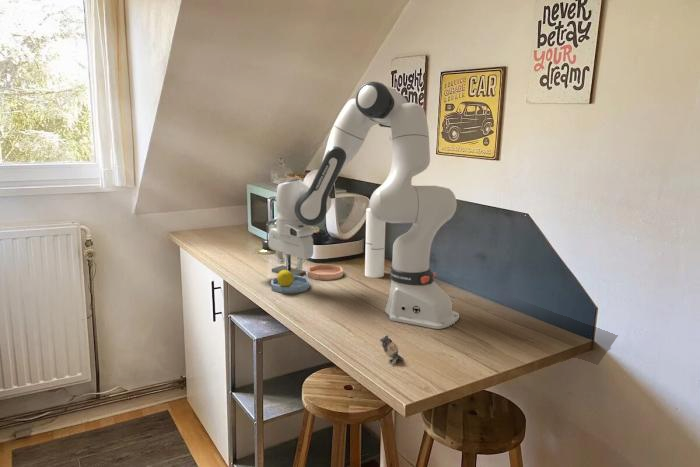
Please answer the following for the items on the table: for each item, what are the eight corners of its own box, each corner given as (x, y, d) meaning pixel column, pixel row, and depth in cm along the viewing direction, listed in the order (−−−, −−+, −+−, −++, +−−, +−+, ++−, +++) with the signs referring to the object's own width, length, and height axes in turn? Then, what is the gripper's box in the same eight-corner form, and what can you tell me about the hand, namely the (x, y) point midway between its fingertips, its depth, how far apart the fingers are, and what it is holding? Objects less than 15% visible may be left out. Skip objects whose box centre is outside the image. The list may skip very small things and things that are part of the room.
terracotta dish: (349, 274, 205) (349, 268, 204) (327, 282, 194) (327, 276, 194) (322, 267, 212) (323, 262, 212) (300, 275, 202) (300, 269, 202)
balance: (303, 261, 220) (303, 200, 215) (326, 267, 213) (327, 204, 208) (247, 279, 196) (245, 211, 191) (270, 286, 189) (269, 215, 184)
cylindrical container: (371, 271, 209) (373, 206, 204) (387, 274, 205) (389, 209, 200) (361, 275, 204) (362, 209, 198) (377, 278, 200) (379, 211, 194)
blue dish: (316, 286, 190) (316, 280, 189) (291, 296, 180) (290, 289, 179) (289, 279, 197) (289, 273, 197) (263, 288, 187) (263, 281, 187)
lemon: (280, 291, 186) (275, 283, 178) (278, 276, 188) (274, 267, 181) (296, 289, 186) (292, 280, 178) (294, 274, 188) (291, 265, 181)
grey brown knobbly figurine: (373, 359, 135) (375, 336, 134) (387, 354, 139) (388, 331, 138) (390, 366, 132) (392, 342, 131) (404, 360, 136) (405, 337, 135)
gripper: (263, 223, 189) (264, 261, 192) (301, 233, 175) (302, 274, 178) (278, 220, 193) (278, 258, 196) (316, 230, 179) (316, 270, 182)
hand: (290, 266), depth 187 cm, fingers open, 8 cm apart
